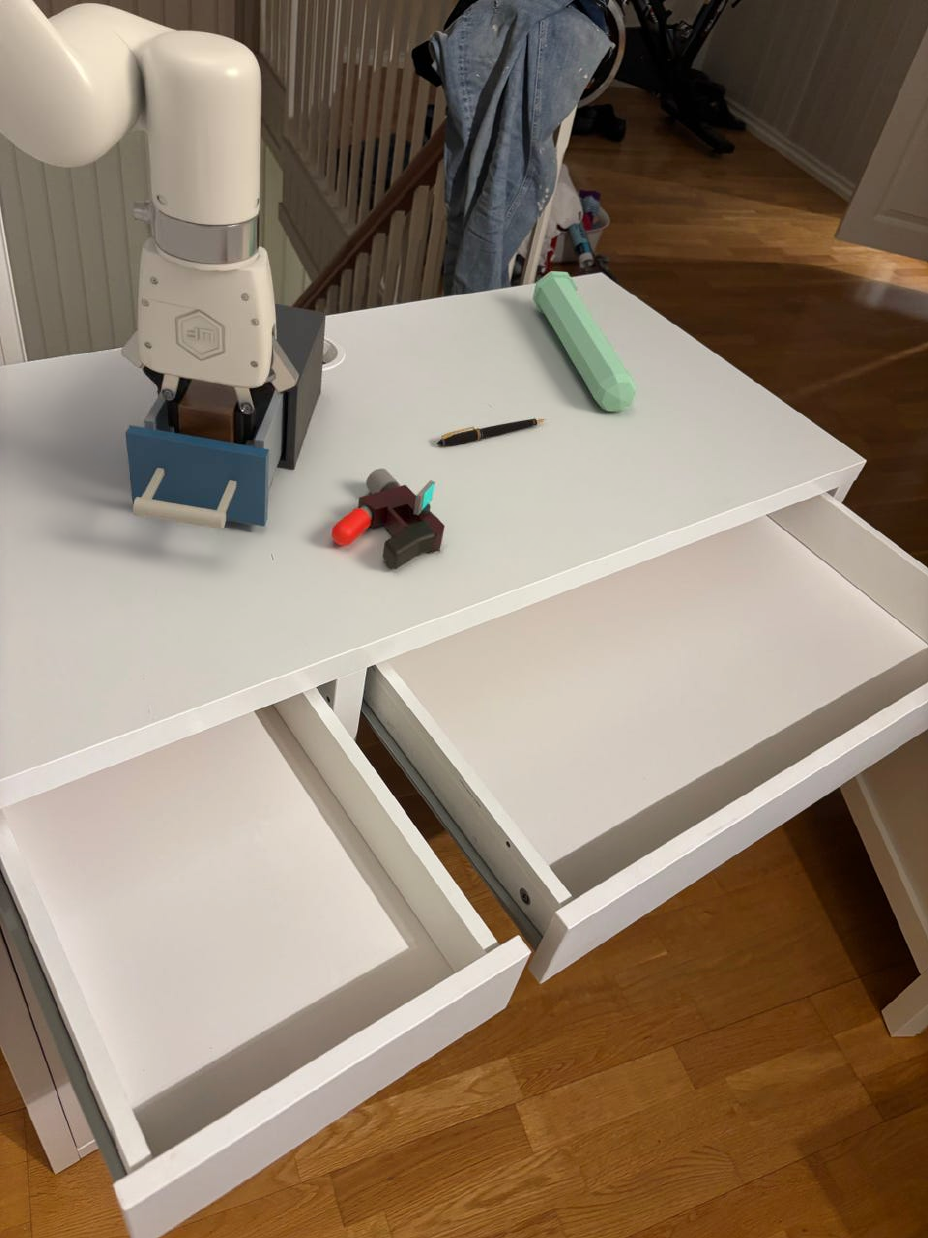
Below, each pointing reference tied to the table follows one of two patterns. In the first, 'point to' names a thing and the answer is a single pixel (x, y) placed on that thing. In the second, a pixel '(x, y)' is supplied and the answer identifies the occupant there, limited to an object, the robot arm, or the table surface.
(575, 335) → the container
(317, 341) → the cabinet
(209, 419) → the block
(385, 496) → the toy gun
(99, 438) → the table surface
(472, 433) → the fountain pen
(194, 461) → the drawer
